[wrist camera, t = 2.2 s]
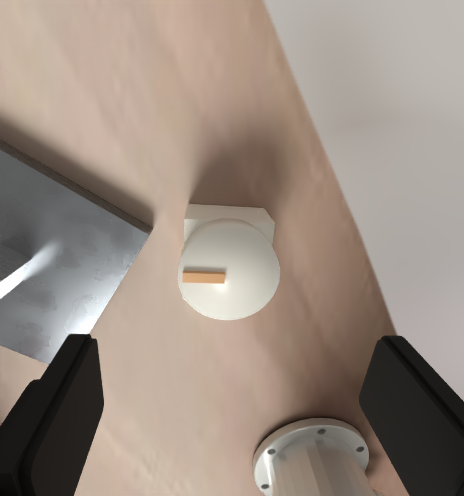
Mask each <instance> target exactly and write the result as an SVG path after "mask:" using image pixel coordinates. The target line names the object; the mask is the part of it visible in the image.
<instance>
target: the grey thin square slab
mask: <svg viewBox="0 0 464 496" xmlns="http://www.w3.org/2000/svg"><path fill="white" fill-rule="evenodd" d="M152 230H153V228H151V227H149V226H148V225H146V224H144V223H142V222H141V221H139V220H137V219H136V218H134V217H132V216H130V215H129V214H127V213H125V212H124V211H122V210H120V209H118V208H117V207H115V206H113V205H112V204H110V203H108V202H106V201H105V200H103V199H101V198H99V197H98V196H96V195H94V194H93V193H91V192H89V191H87V190H86V189H84V188H82V187H81V186H79V185H77V184H75V183H74V182H72V181H70V180H69V179H67V178H65V177H63V176H62V175H60V174H58V173H56V172H55V171H53V170H51V169H50V168H48V167H46V166H44V165H43V164H41V163H39V162H38V161H36V160H34V159H32V158H31V157H29V156H27V155H25V154H24V153H22V152H20V151H19V150H17V149H15V148H13V147H12V146H10V145H8V144H7V143H5V142H3V141H1V140H0V345H1V346H3V347H6V348H8V349H11V350H13V351H16V352H18V353H21V354H23V355H26V356H28V357H31V358H33V359H36V360H38V361H41V362H43V363H46V364H48V365H49V364H50V363H51V361H52V360H53V358H54V356H55V355H56V353H57V352H58V350H59V349H60V347H61V345H62V344H63V342H64V341H65V339H66V337H67V336H68V335H69V334H89V332H90V331H91V329H92V327H93V326H94V324H95V323H96V321H97V319H98V318H99V316H100V315H101V313H102V311H103V310H104V308H105V306H106V305H107V303H108V302H109V300H110V298H111V297H112V295H113V293H114V292H115V290H116V289H117V287H118V285H119V284H120V282H121V281H122V279H123V277H124V276H125V274H126V272H127V271H128V269H129V268H130V266H131V264H132V263H133V261H134V260H135V258H136V256H137V255H138V253H139V251H140V250H141V248H142V247H143V245H144V243H145V242H146V240H147V239H148V237H149V235H150V233H151V232H152Z"/></svg>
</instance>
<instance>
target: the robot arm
mask: <svg viewBox="0 0 464 496" xmlns="http://www.w3.org/2000/svg"><path fill="white" fill-rule="evenodd" d="M359 403H360V406H361V408H362V410H363V412H364V414H365V416H366V417H367V419H368V421H369V423H370V425H371V427H372V428H373V430H374V432H375V434H376V436H377V437H378V439H379V441H380V443H381V445H382V446H383V448H384V450H385V452H386V454H387V456H388V457H389V459H390V461H391V463H392V465H393V466H394V468H395V470H396V472H397V474H398V475H399V477H400V479H401V481H402V483H403V484H404V486H405V488H406V490H407V492H408V494H409V495H410V496H464V401H463V400H462V399H461V398H460V397H459V396H458V395H457V394H456V393H455V392H454V391H453V390H452V389H451V388H450V386H449V385H448V384H447V383H446V382H445V381H444V380H443V379H442V378H441V377H440V376H439V375H438V373H436V372H435V370H434V369H433V368H432V367H431V366H430V365H429V364H428V363H427V362H426V361H425V360H424V358H423V357H422V356H421V355H420V354H419V353H418V352H417V351H416V350H415V349H414V348H413V347H412V346H411V344H409V343H408V341H407V340H406V339H405V338H403V337H402V336H383V337H382V338H381V340H378V341H377V343H376V346H375V349H374V353H373V356H372V359H371V362H370V365H369V368H368V371H367V374H366V377H365V380H364V383H363V386H362V389H361V392H360V395H359ZM103 407H104V397H103V388H102V379H101V371H100V362H99V353H98V344H97V340H96V339H92V338H91V335H90V334H69V335H68V336H67V337H66V339H65V341H64V342H63V344H62V345H61V347H60V349H59V350H58V352H57V353H56V355H55V356H54V358H53V360H52V361H51V363H50V364H49V366H48V368H47V369H46V371H45V372H44V374H43V375H42V377H41V379H37V380H33V381H31V382H30V383H29V385H28V386H27V387H26V388H25V390H24V391H23V393H22V394H21V396H20V397H19V399H18V400H17V402H16V403H15V405H14V406H13V408H12V409H11V411H10V412H9V414H8V416H7V417H6V419H5V420H4V422H3V423H2V425H1V426H0V496H74V493H75V491H76V488H77V485H78V482H79V479H80V476H81V473H82V470H83V467H84V465H85V462H86V459H87V456H88V453H89V450H90V447H91V444H92V441H93V438H94V436H95V433H96V430H97V427H98V424H99V421H100V418H101V415H102V412H103ZM368 462H369V451H368V447H367V445H366V443H365V441H364V439H363V437H362V435H361V434H360V433H359V431H358V430H357V429H355V428H354V427H353V426H351V425H349V424H347V423H345V422H343V421H339V420H336V419H330V418H310V419H305V420H299V421H296V422H293V423H290V424H288V425H286V426H284V427H282V428H280V429H278V430H276V431H275V432H274V433H272V434H271V435H269V436H268V437H267V438H266V439H265V440H264V441H263V442H262V443H261V445H260V446H259V447H258V449H257V451H256V453H255V455H254V458H253V464H252V466H253V475H254V480H255V483H256V485H257V487H258V488H259V490H261V491H262V492H263V493H264V494H265V495H266V496H384V495H383V494H382V493H380V492H377V491H375V490H372V488H371V485H370V483H369V481H368V479H367V477H366V475H365V470H366V467H367V465H368Z"/></svg>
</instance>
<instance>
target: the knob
mask: <svg viewBox="0 0 464 496" xmlns="http://www.w3.org/2000/svg"><path fill="white" fill-rule="evenodd" d="M274 229H275V222H274V221H273V220H272V218H271V217H270V216H269V214H268V213H267V212H266V210H265V209H264V208H255V207H237V206H220V205H202V204H188V206H187V210H186V214H185V219H184V247H183V249H182V253H181V257H180V262H179V267H178V284H179V288H180V291H181V293H182V295H183V299H185V300H186V301H187V303H188V304H189V305H190V306H191V307H192V308H194V309H195V310H196V311H197V312H199V313H201V314H203V315H205V316H207V317H210V318H213V319H218V320H235V319H241V318H244V317H247V316H250V315H252V314H254V313H256V312H257V311H259V310H260V309H262V308H263V307H264V306H265V305H266V304H267V303H268V302H269V301H270V300H271V298H272V297H273V295H274V293H275V292H276V290H277V287H278V284H279V280H280V265H279V261H278V258H277V255H276V253H275V252H274V250H273V248H272V244H273V237H274Z"/></svg>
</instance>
